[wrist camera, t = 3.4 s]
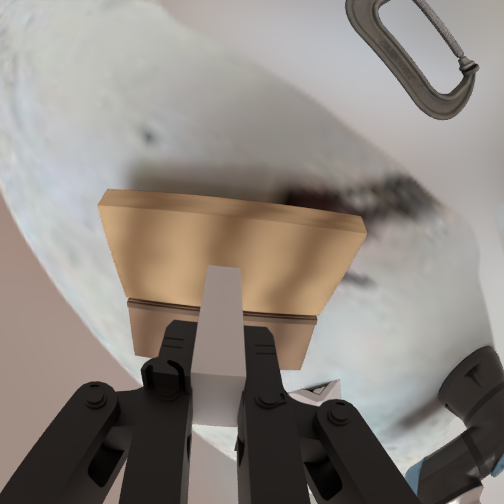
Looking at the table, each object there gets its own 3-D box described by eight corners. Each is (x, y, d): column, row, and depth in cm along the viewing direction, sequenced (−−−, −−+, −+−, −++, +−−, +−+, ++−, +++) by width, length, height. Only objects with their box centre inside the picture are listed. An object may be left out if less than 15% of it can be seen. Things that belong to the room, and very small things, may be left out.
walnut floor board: (312, 307, 32) (317, 319, 29) (297, 359, 35) (300, 371, 33) (133, 290, 30) (126, 301, 28) (139, 344, 33) (134, 356, 31)
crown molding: (259, 394, 38) (261, 414, 35) (340, 375, 38) (347, 393, 34) (291, 469, 50) (293, 481, 47) (343, 456, 50) (347, 468, 46)
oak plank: (360, 216, 22) (367, 233, 20) (316, 299, 31) (319, 315, 29) (107, 189, 20) (97, 205, 19) (131, 281, 29) (126, 297, 27)
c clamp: (307, -16, 18) (314, -28, 16) (406, -47, 15) (416, -55, 12) (421, 137, 25) (436, 138, 23) (493, 80, 22) (507, 80, 19)
